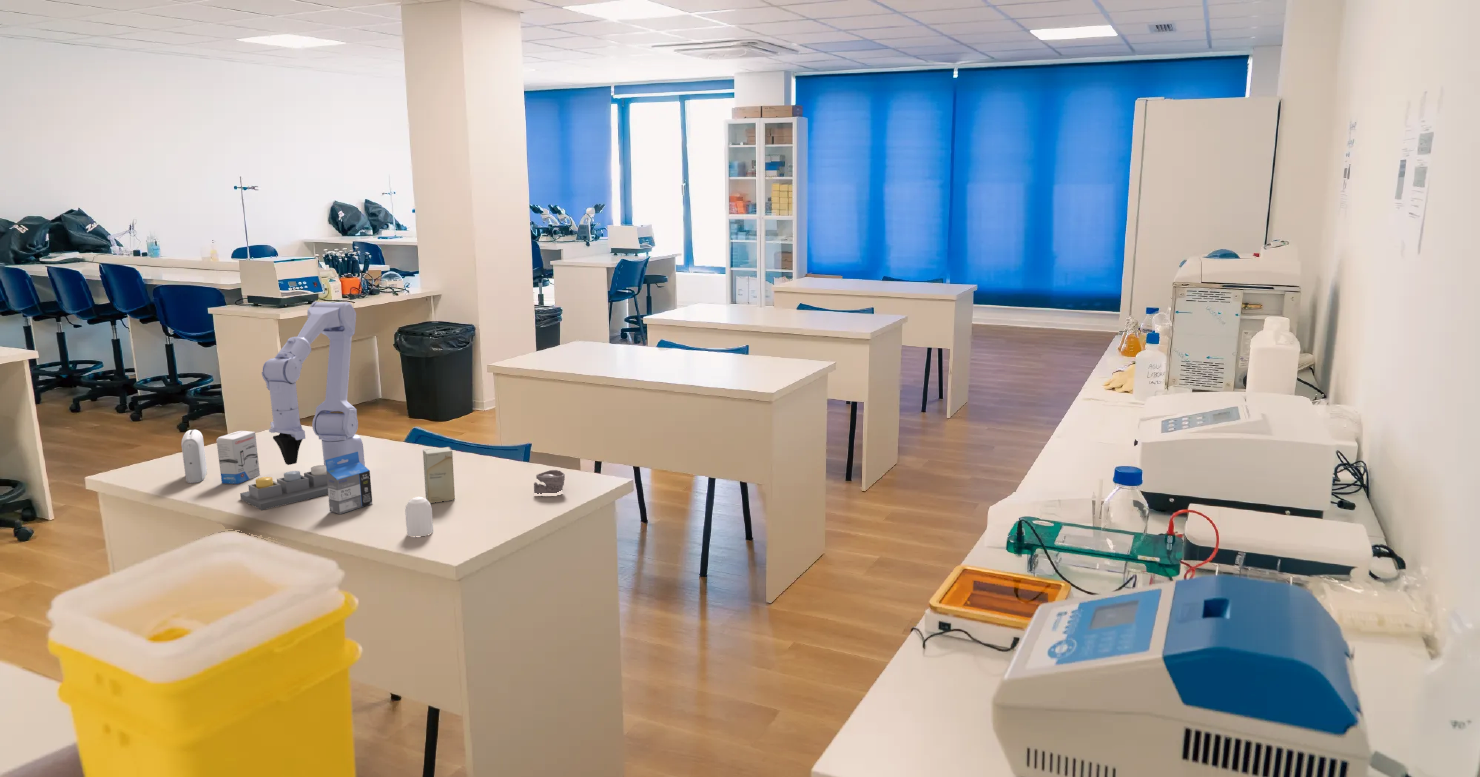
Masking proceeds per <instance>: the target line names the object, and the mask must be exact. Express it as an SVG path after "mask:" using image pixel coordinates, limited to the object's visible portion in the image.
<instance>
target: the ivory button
mask: <svg viewBox="0 0 1480 777" xmlns="http://www.w3.org/2000/svg"><path fill="white" fill-rule="evenodd" d="M326 471H327V470H326V466H325V465H324V464H321V465H320V464H319V465H314V466H312V467H310V472H311V475H313V476H319V475H323V474H327V472H326Z"/></svg>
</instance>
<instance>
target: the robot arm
mask: <svg viewBox="0 0 1480 777" xmlns="http://www.w3.org/2000/svg"><path fill="white" fill-rule="evenodd" d="M306 313H307V319H306V321H305V323H303V326H302V328H301V330H300V331H299V333H298V335H297V336H291V337H289V338H288V339H287V340H286V342H285V344H284V345H283V346H282V347H281V349H280V350H279V351H278V352H277V354H276V355H275V357H274V358H271V357H270V358H269V359H267V360H266V361H265V362H264V363H263V366H262V371H261V376H262V379H263V381H264V382H265V383H266V384H265V385H266V388H267V390H268V391H269V396H270V404H271V405H270V406H271V411H272V412H271V414H272V415H271V416H272V421H270V428H269V429H268V432H269V433H271V434H272V433H273V434H274V433H278V435H277V434H276V435H273V437H272V439H273V441H274V442H275V443H276V444H277V446H278V449H279V450H280V452H281V455H282V456H281V457H282V458H283V461H284V463H285V465H287V466H289V465H294V464H297V462H298V457H299V456H298V455H299V450H300V447H301V444H302V441H303V440H305V439H306V431H305V430H304V429H303V426H302V424H301V420H300V409H299V400H298V392H297V383H296V382H297V381H298V380H299V379H300V376H301V371H302V368H303V364H304V362H305V361H306V359H307V358H308V357H309V356H310V354H311V353H312V346H311V345H312V343H314V341H315V340H316V339H317V338H318V337H319V336H320V334H322V335H324V336H326V337H327V338H328V340H329V346H328V348H329V350H328V358H327V359H328V361H327V373H326V387H325V388H326V389H325V399H324V400H323V401H322V402H321V403H320V404H318V405H317V406H316V407H315V413H314V416H313V419H312V422H311V423H312V431H313V432H314V434H315V436H317V437H318V440H321V448H322V456H323V459H322V460H323V465H325V466H326V463H325V460H327V459H331V458H335V457H338V456H342V455H346V454H350V453H354V452H357V451H358V455H359V462H360V463H362V464H363V465H364V466H365V465H366V464H365V463H366V461H365V451H364V443H363V441H362V440H363V439H362V438H361V437H360V436H359V435H358V434H356V433H357V431H358V428H359V420H358V414H357V413H358V412H357V410H358V409H357V408H356V407H355V406H353V405H352V404H351V403H350V402H349V401H348V392H349V380H350V379H349V378H350V368H351V366H350V365H351V353H352V352H351V351H352V340H353V339H352V338H353V336H354V335H355V333H356V323H357V322H356V320H357V312H356V310H355V308H354V307H353V305H352V303H351V302H349V301H344V302H335V301H334V302H330V301H327V302H325V301H324V302H323V301H322V302H320V301H313V302H311V304H310V305H309V307H308V308H307V312H306ZM341 412H342V413H341ZM345 462H348V459H347V460H344V459H342V460H341V461H339V462H337V464H341V463H345ZM365 467H366V466H365Z"/></svg>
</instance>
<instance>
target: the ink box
mask: <svg viewBox="0 0 1480 777" xmlns="http://www.w3.org/2000/svg"><path fill="white" fill-rule="evenodd" d="M256 435H257V434H256V431H251V430H250V431H247V430H238V431H234V432H231V433H228V434H225V435H221V436H218V437H217V438H216V446H217V448H216V449H217V455H218V456H217V457H218V464H219V471H220V472H219V473H220V480H221V484H228V485H229V484H232V485H239V484H241V483H242V484H243V483H245V482H247V481H249V480H251V479H254V478H256V477H258V476H261V473H260V464H259V454H258V445H257V438H256V437H257V436H256Z"/></svg>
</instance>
